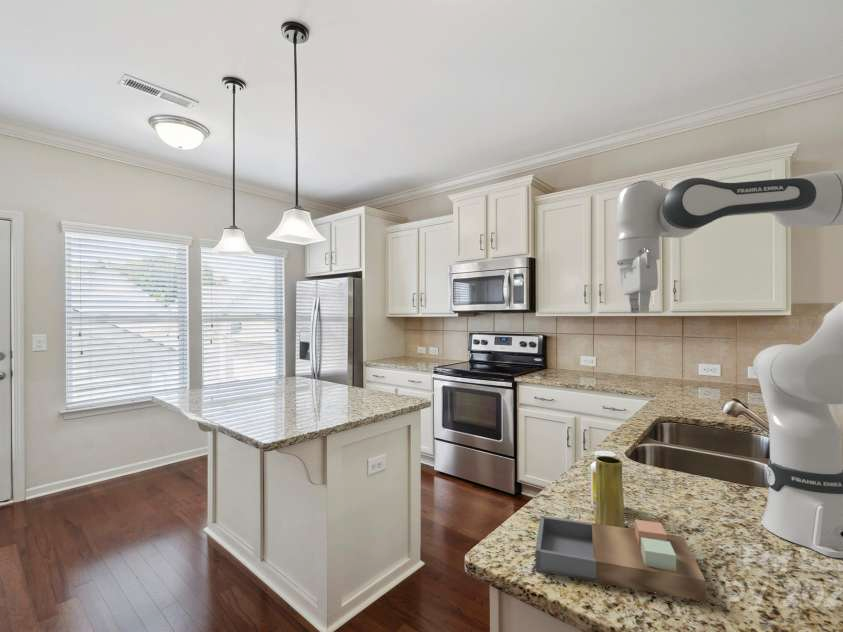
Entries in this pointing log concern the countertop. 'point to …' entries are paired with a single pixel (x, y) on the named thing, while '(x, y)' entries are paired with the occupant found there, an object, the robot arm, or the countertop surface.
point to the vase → (609, 492)
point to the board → (627, 568)
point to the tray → (565, 548)
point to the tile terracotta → (649, 530)
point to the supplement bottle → (593, 474)
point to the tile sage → (658, 554)
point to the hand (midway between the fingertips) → (639, 312)
